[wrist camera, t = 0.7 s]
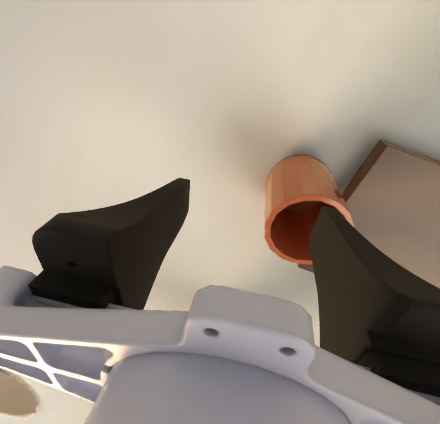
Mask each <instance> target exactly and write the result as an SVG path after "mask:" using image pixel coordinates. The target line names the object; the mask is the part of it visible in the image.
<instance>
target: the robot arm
mask: <svg viewBox="0 0 440 424" xmlns="http://www.w3.org/2000/svg"><path fill="white" fill-rule="evenodd" d="M189 191H190V180H188V179H183V178H178V179H176V180H174V181H172V182H170V183H168V184H166V185H165V186H163V187H161V188H159V189H157V190H155V191H153V192H151V193H148V194H146V195H144V196H142V197H139V198H137V199H134V200H131V201H128V202H125V203H121V204H118V205H114V206H110V207H105V208H100V209H95V210H88V211H81V212H70V213H58V214H57V215H56V216H55V217H53V218H52V219H51V220H49V221H48V222H47V223H46V224H44V225H43V226H42V227H40V228H39V229H38V230H37V231H35V233H34V235H33V238H32V243H33V247H34V250H35V252H36V254H37V256H38V259H39V261H40V263H41V265H42V268H43V271H42V272H41V273H40V274H39V275H38V276H36V275H35V274H33V273H32V272H29V271H26V270H22V269H18V268H13V267H9V266H3V267H2V268H1V269H0V368H3V369H6V370H9V371H12V372H15V373H18V374H20V375H23V376H26V377H28V378H31V379H34V380H36V381H39V382H41V383H44V384H46V385H49V386H52V387H54V388H57V389H59V390H62V391H64V392H67V393H69V394H72V395H74V396H77V397H79V398H82V399H84V400H87V401H90V402H92V403H94V405H93V407H92V409H91V411H90V413H89V415H88V417H87V419H86V421H85V423H84V424H440V288H438V287H436V286H434V285H432V284H430V283H429V282H427V281H425V280H423V279H422V278H420V277H418V276H416V275H415V274H413V273H411V272H410V271H408V270H407V269H405V268H404V267H402V266H401V265H399V264H398V263H396V262H395V261H393V260H392V259H391V258H389V257H388V256H387V255H385V254H384V253H383V252H381V251H380V250H379V249H377V248H376V247H375V246H374V245H373V244H372V243H370V242H369V241H368V240H367V239H366V238H365V237H364V236H363V235H361V234H360V233H359V232H358V231H357V230H356V229H355V228H354V227H353V226H352V225H351V224H350V223H349V222H348V221H347V220H346V219H345V218H344V217H343V216H342V215H341V214H340V213H339V212H338V211H337V210H336V209H334V208H329V207H324V206H323V207H322V209H321V211H320V213H319V216H318V218H317V220H316V222H315V225H314V227H313V229H312V231H311V234H310V254H311V260H312V265H313V270H314V275H315V280H316V285H317V292H318V303H319V321H320V347H318V346H316V345H315V342H314V335H313V327H312V319H311V316H310V315H309V313H308V312H307V311H306V310H305V309H304V308H303V307H301V306H299V305H297V304H295V303H292V302H290V301H286V300H282V299H278V298H274V297H269V296H265V295H261V294H256V293H252V292H248V291H243V290H239V289H235V288H231V287H226V286H214V285H211V286H208V287H205V288H202V289H200V290H198V291H197V293H196V295H195V297H194V299H193V302H192V305H191V308H190V311H160V310H143V309H144V307H145V304H146V301H147V299H148V296H149V293H150V291H151V288H152V286H153V283H154V281H155V278H156V276H157V273H158V271H159V269H160V266H161V264H162V262H163V259H164V257H165V255H166V253H167V252H168V250H169V248H170V246H171V245H172V243H173V241H174V239H175V238H176V236H177V234H178V232H179V231H180V229H181V227H182V225H183V223H184V221H185V218H186V216H187V213H188V209H189Z"/></svg>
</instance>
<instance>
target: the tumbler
mask: <svg viewBox="0 0 440 424" xmlns="http://www.w3.org/2000/svg"><path fill="white" fill-rule="evenodd" d="M323 206H324V207H329V208H334V209H336V210H337V211H338V212H339V213H340V214H341V215H342V216H343V217H344V218H345V219H346V220H347V221H348V222H349V223H350V224H351V225H352V226H353V227H354V228H355V226H354V222H353V219H352V215H351V213H350V211H349V209H348V207H347V205H346V203H345V201H344V199H343V197H342V195H341V193H340V191H339V189H338V187H337V185H336V183H335V181H334V179H333V177H332V175H331V173H330V171H329V170H328V169H327V167H326V166H325V165H324V164H323V163H322V162H321V161H319V160H318V159H316V158H313V157H310V156H304V155H299V156H292V157H289V158H286V159H284V160H282V161H281V162H279V163H278V164H277V165H276V166H275V167H274V168H273V169H272V170H271V172H270V174H269V176H268V179H267V185H266V207H265V239H266V241H267V243H268V245H269V247H270V249H271V250H272V251H273V252H275V253H276V254H277V255H278V256H279V257H281V258H282V259H285V260H288V261H290V262H293V263H298V264H312V260H311V254H310V234H311V231H312V229H313V227H314V225H315V222H316V220H317V218H318V216H319V213H320V211H321V209H322V207H323Z"/></svg>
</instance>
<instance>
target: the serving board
mask: <svg viewBox="0 0 440 424" xmlns="http://www.w3.org/2000/svg"><path fill="white" fill-rule="evenodd" d="M342 197H343V199H344V201H345V203H346V205H347V207H348V209H349V211H350V213H351V215H352V219H353V222H354V226H355V229H356V230H357V231H358V232H359V233H360V234H361V235H363V236H364V237H365V238H366V239H367V240H368V241H369V242H370V243H372V244H373V245H374V246H375V247H376V248H377V249H379V250H380V251H381V252H383V253H384V254H385V255H387V256H388V257H389V258H391V259H392V260H393V261H395V262H396V263H398V264H399V265H401V266H402V267H404V268H405V269H407V270H408V271H410V272H411V273H413V274H415V275H416V276H418V277H420V278H422V279H423V280H425V281H427V282H429V283H430V284H432V285H434V286H436V287H438V288H440V162H438V161H435V160H432V159H430V158H427V157H425V156H422V155H419V154H417V153H414V152H412V151H409V150H406V149H404V148H401V147H399V146H396V145H393V144H391V143H388V142H386V141H383V140H380V141H379V143H378V144H377V145H376V147H375V148H374V150H373V151H372V153H371V154H370V155H369V157H368V158H367V160H366V161H365V162H364V164H363V165H362V167H361V168H360V169H359V171H358V172H357V174H356V175H355V177H354V178H353V179H352V181H351V182H350V184H349V185H348V186H347V188H346V189H345V191H344V192H343V194H342ZM298 267H300V268H303V269H305V270H308V271H311V272H313V273H314V270H313V265H312V264H298Z"/></svg>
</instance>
